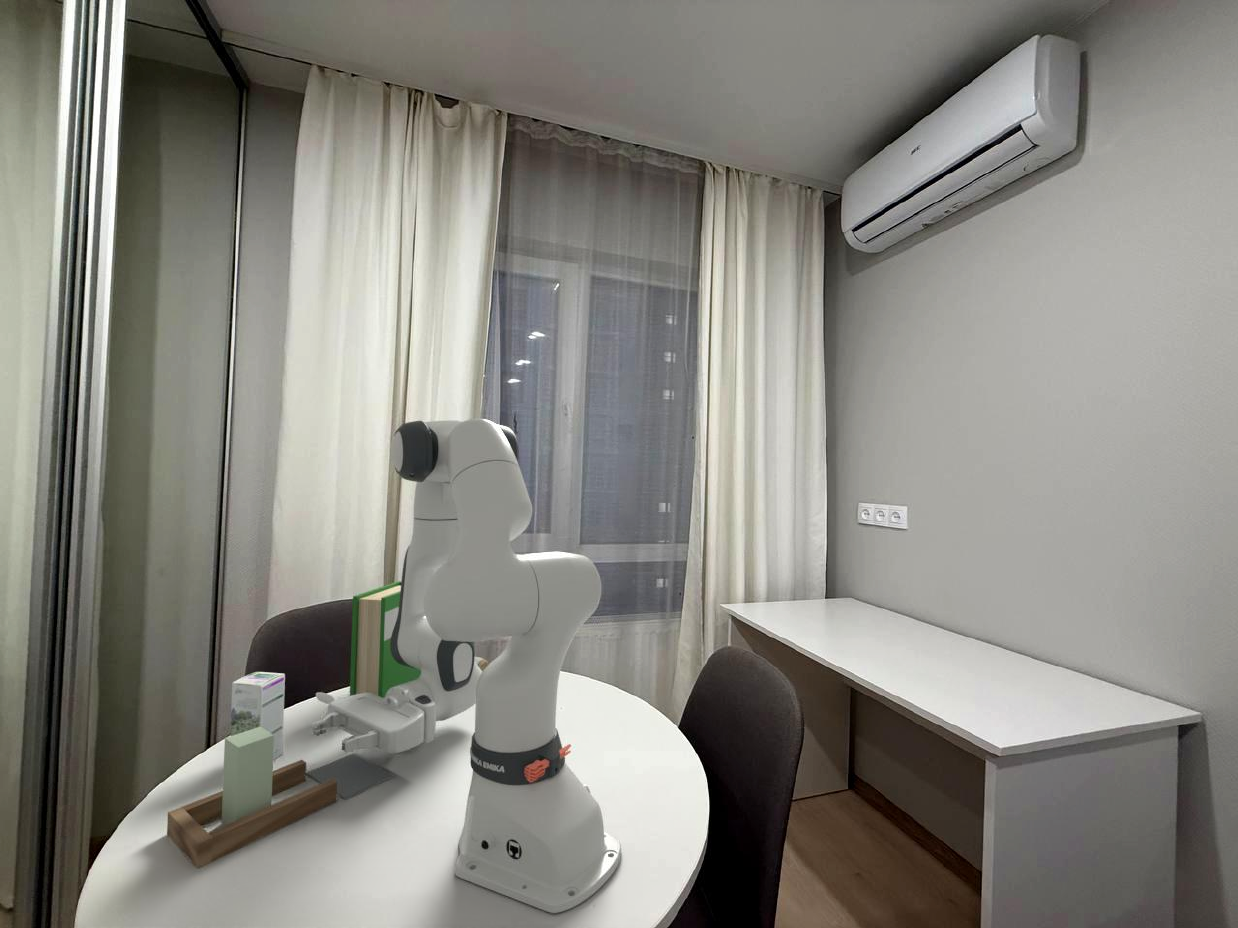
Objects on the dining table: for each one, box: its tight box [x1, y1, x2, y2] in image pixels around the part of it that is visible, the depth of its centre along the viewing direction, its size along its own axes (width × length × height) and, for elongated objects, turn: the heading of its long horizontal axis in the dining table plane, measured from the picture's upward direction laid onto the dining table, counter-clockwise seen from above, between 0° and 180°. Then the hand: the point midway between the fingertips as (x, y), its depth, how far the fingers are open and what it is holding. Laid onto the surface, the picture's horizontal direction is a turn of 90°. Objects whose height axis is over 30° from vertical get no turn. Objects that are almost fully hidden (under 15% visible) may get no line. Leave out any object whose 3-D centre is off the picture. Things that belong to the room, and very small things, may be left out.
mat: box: [306, 752, 393, 800], centre depth 90 cm, size 12×8×1 cm, turn 55°
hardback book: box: [349, 581, 421, 698], centre depth 123 cm, size 18×7×24 cm, turn 172°
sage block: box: [221, 727, 274, 827], centre depth 77 cm, size 4×4×12 cm
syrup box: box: [230, 671, 286, 762], centre depth 94 cm, size 6×6×14 cm
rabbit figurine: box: [315, 692, 338, 720], centre depth 110 cm, size 6×4×8 cm
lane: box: [166, 759, 338, 869], centre depth 78 cm, size 11×18×3 cm, turn 145°
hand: (328, 738), depth 87 cm, fingers open, 8 cm apart
